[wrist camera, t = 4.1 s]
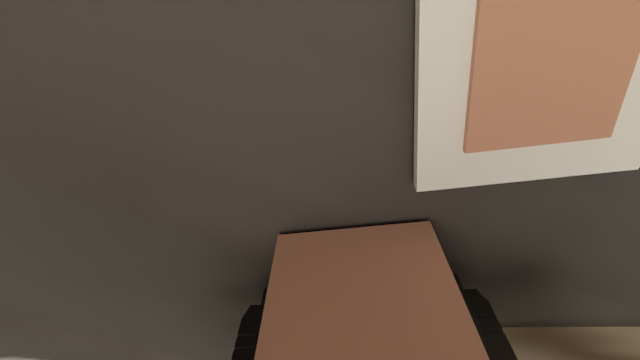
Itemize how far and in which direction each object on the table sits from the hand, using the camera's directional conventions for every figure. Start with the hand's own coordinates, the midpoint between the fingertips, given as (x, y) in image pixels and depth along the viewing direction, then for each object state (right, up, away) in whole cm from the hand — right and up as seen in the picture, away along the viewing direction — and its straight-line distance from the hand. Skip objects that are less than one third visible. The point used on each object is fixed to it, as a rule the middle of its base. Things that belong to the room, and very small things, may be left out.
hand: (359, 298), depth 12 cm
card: (+4, +7, -3) cm, 9 cm away
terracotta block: (0, 0, +1) cm, 1 cm away
